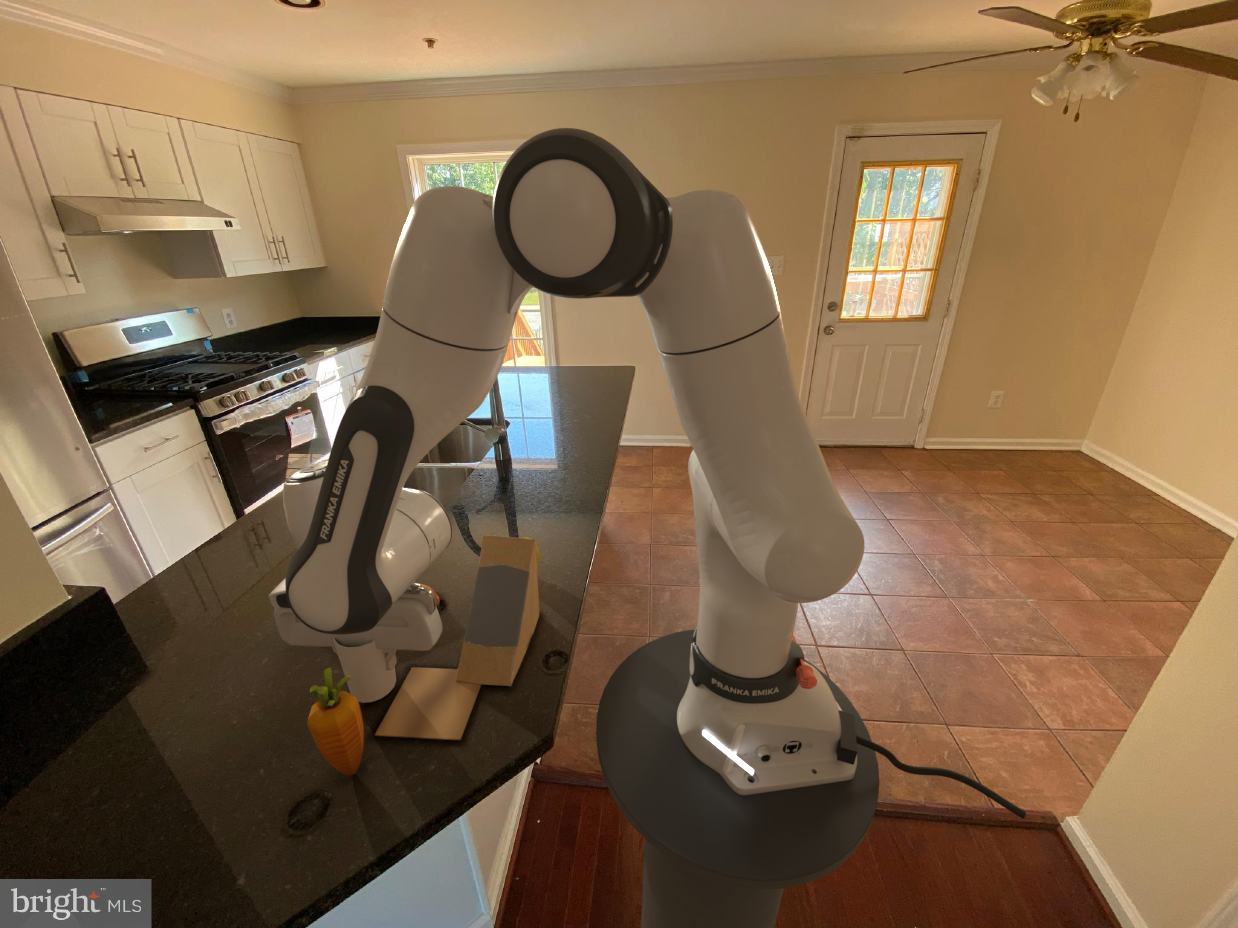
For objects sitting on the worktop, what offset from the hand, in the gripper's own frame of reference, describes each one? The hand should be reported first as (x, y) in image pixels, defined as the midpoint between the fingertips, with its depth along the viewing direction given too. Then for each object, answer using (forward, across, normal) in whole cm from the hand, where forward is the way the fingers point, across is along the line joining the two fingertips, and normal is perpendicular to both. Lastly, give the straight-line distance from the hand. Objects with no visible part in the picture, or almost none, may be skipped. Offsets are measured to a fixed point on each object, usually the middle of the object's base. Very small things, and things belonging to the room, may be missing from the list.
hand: (372, 665), depth 68 cm
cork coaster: (+4, -8, +2) cm, 10 cm away
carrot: (+4, -3, +12) cm, 13 cm away
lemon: (+5, -14, -28) cm, 31 cm away
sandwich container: (+4, -15, -9) cm, 18 cm away
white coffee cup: (+4, +1, 0) cm, 4 cm away
